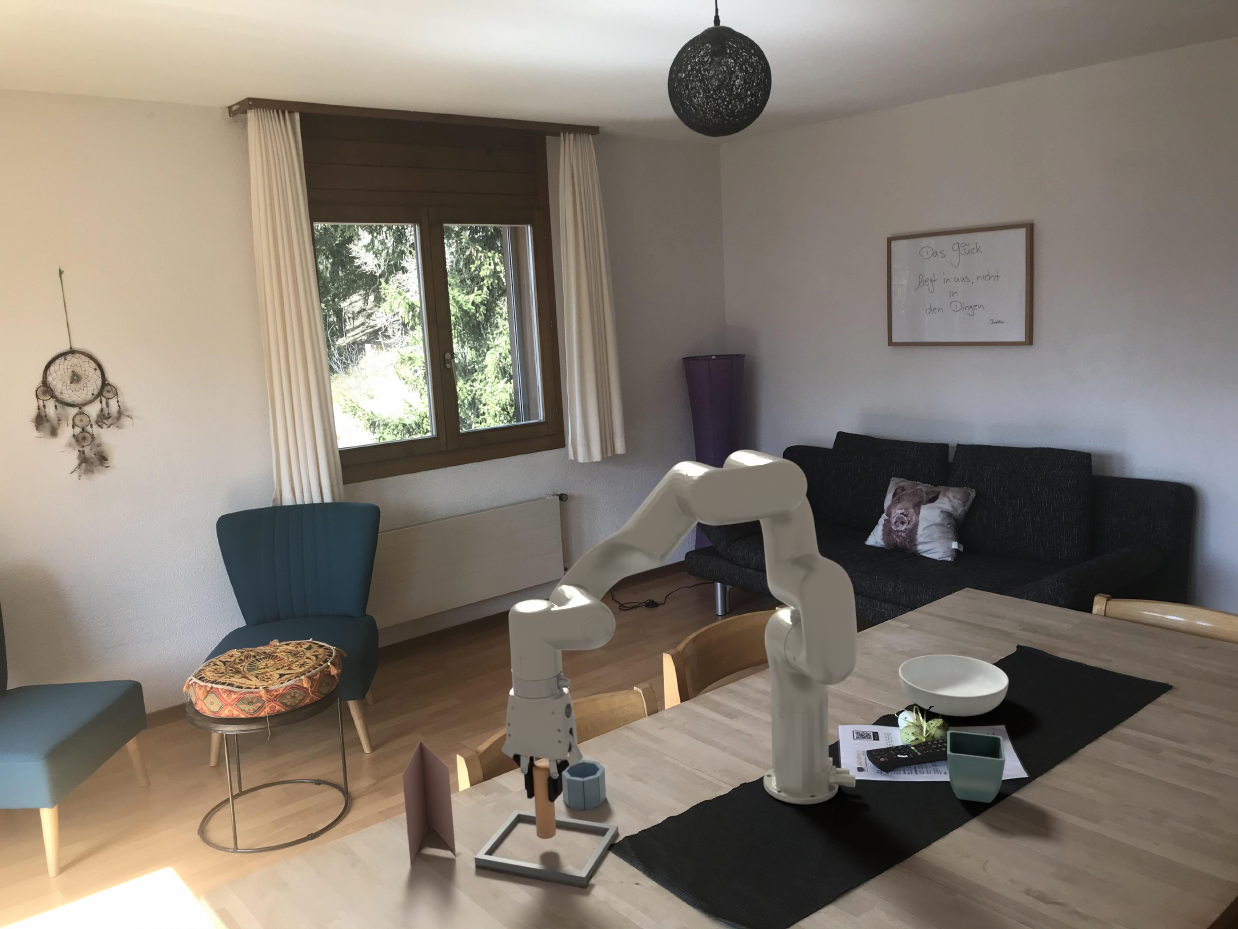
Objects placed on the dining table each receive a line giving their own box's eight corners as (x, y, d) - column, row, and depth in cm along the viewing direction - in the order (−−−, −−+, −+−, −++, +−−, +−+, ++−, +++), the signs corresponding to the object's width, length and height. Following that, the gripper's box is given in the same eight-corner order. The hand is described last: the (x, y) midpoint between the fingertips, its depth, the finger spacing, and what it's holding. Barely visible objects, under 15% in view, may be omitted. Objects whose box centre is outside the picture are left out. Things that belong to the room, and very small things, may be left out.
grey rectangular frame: (618, 836, 150) (617, 826, 150) (585, 888, 137) (584, 877, 137) (516, 819, 156) (515, 809, 156) (475, 868, 143) (474, 857, 143)
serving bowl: (893, 721, 186) (893, 688, 184) (904, 680, 205) (904, 650, 204) (1007, 735, 178) (1008, 700, 177) (1007, 691, 197) (1008, 659, 196)
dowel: (559, 830, 147) (555, 764, 145) (551, 840, 144) (547, 773, 142) (541, 827, 148) (537, 761, 146) (533, 837, 145) (529, 770, 143)
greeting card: (422, 825, 156) (415, 740, 153) (467, 824, 156) (460, 739, 153) (405, 866, 145) (396, 775, 142) (453, 865, 144) (445, 774, 142)
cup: (610, 795, 162) (608, 763, 161) (596, 816, 156) (594, 782, 155) (574, 790, 165) (572, 758, 164) (558, 810, 158) (556, 777, 157)
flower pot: (1001, 784, 160) (1002, 735, 159) (1004, 811, 152) (1005, 759, 150) (946, 778, 163) (947, 729, 162) (946, 804, 155) (947, 753, 153)
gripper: (597, 678, 142) (602, 791, 146) (500, 668, 148) (507, 777, 151) (578, 698, 136) (584, 817, 139) (477, 687, 141) (485, 801, 144)
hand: (544, 795), depth 145 cm, fingers closed on dowel, 3 cm apart
